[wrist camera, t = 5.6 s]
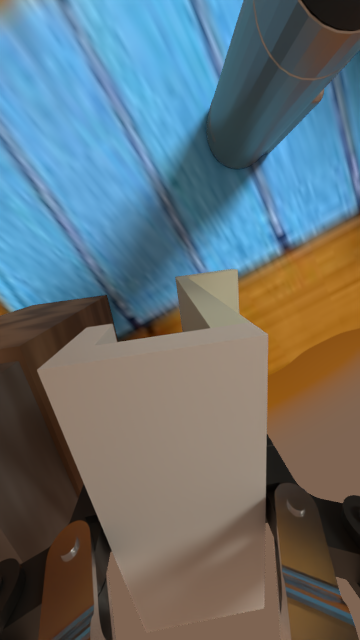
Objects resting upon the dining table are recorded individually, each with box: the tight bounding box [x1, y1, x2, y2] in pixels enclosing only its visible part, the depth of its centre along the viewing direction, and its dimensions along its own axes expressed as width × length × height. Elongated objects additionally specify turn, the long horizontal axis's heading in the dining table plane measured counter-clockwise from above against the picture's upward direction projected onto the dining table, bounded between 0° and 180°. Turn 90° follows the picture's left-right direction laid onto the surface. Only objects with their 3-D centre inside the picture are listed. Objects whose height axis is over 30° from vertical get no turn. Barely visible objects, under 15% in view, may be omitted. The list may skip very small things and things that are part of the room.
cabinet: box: [0, 295, 118, 564], centre depth 22 cm, size 12×18×25 cm, turn 7°
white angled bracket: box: [37, 269, 268, 632], centre depth 16 cm, size 12×14×20 cm
